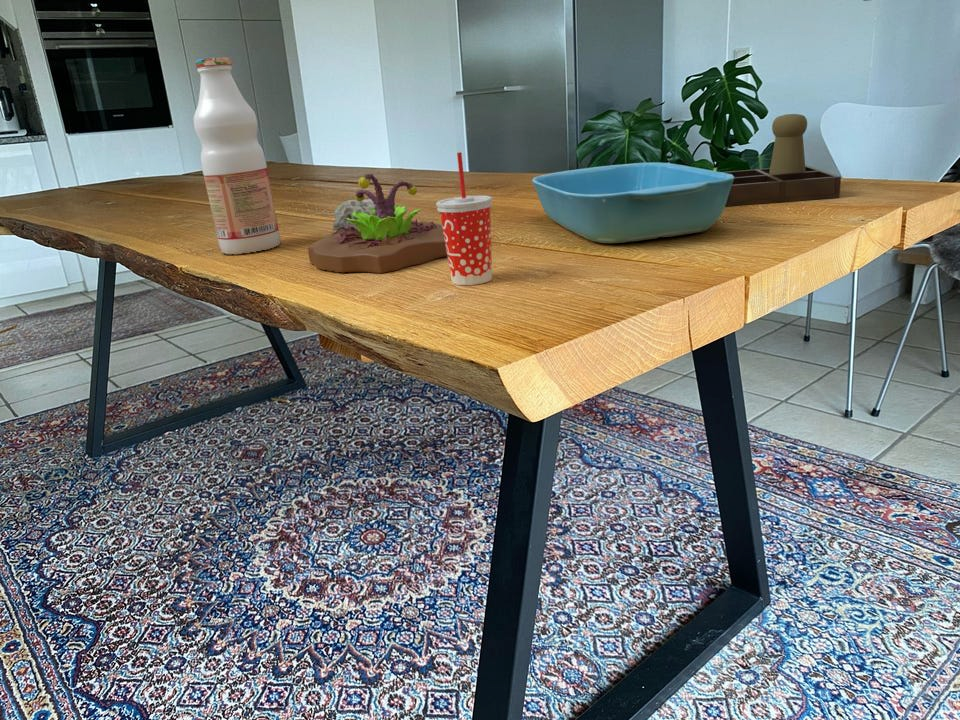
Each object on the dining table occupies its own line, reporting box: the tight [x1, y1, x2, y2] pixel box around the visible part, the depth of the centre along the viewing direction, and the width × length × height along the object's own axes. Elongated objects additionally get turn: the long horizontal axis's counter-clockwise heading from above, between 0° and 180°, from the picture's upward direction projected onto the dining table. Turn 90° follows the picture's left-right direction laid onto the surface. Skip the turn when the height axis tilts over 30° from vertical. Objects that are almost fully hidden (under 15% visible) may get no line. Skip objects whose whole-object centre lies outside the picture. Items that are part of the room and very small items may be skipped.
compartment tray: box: [721, 164, 842, 207], centre depth 118 cm, size 16×16×3 cm
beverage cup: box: [435, 151, 493, 286], centre depth 81 cm, size 6×6×14 cm
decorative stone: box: [332, 198, 375, 233], centre depth 125 cm, size 12×11×5 cm
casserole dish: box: [531, 161, 734, 244], centre depth 105 cm, size 37×22×7 cm, turn 9°
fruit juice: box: [192, 57, 281, 255], centre depth 112 cm, size 9×9×28 cm
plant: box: [307, 173, 448, 274], centre depth 99 cm, size 20×20×11 cm
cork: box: [769, 113, 808, 175], centre depth 119 cm, size 6×6×11 cm
